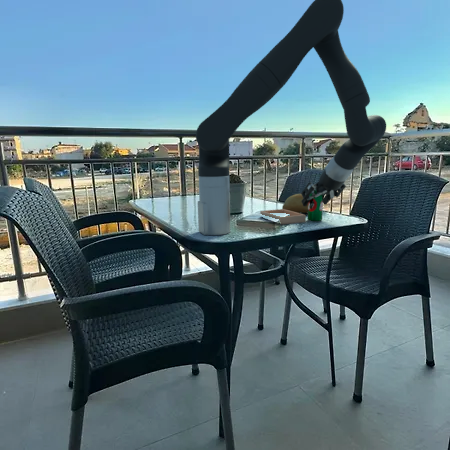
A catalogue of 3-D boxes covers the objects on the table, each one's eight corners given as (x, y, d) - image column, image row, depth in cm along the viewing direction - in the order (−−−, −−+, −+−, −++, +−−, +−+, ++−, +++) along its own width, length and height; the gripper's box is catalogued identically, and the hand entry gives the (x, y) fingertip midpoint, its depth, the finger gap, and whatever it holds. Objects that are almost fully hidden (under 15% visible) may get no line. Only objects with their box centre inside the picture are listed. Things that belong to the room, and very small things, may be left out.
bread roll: (322, 215, 123) (323, 195, 122) (282, 215, 126) (283, 195, 124) (318, 211, 133) (319, 192, 131) (281, 211, 135) (282, 192, 133)
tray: (280, 224, 108) (280, 217, 108) (260, 217, 122) (260, 210, 122) (305, 222, 112) (305, 215, 111) (283, 215, 126) (283, 209, 125)
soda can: (322, 222, 111) (324, 187, 109) (307, 221, 112) (308, 187, 110) (321, 219, 116) (322, 186, 114) (307, 219, 117) (308, 186, 115)
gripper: (349, 162, 105) (325, 194, 118) (313, 163, 101) (292, 196, 114) (360, 179, 102) (334, 210, 115) (323, 182, 97) (300, 213, 110)
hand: (313, 203), depth 114 cm, fingers open, 8 cm apart
